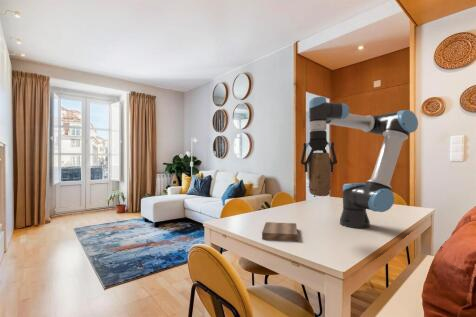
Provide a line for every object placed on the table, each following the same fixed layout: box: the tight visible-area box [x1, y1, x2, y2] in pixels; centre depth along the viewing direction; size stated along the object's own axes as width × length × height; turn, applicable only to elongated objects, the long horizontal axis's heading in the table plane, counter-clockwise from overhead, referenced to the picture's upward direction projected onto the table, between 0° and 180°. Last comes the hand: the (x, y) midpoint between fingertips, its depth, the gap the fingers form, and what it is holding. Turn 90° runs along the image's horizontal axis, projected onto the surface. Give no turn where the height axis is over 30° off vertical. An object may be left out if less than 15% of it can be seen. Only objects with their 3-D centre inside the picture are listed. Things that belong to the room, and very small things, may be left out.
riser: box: [261, 221, 298, 242], centre depth 123 cm, size 16×19×3 cm
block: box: [307, 151, 332, 197], centre depth 115 cm, size 11×8×20 cm
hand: (318, 179), depth 116 cm, fingers closed on block, 9 cm apart
